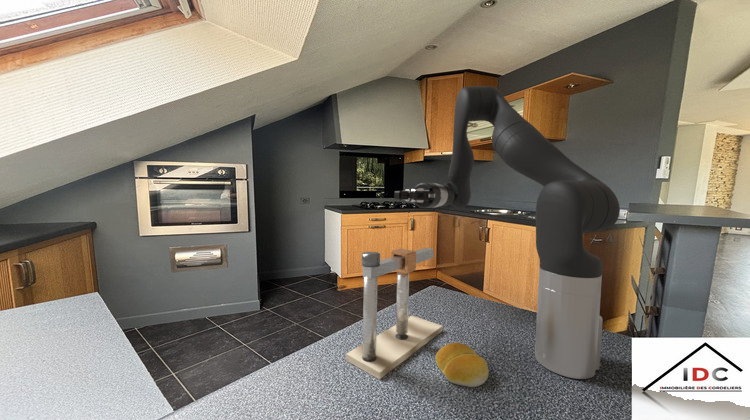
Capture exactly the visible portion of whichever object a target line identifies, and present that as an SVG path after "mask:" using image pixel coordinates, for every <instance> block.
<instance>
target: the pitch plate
mask: <svg viewBox="0 0 750 420" xmlns="http://www.w3.org/2000/svg"><path fill="white" fill-rule="evenodd" d="M442 332H443V325H441V324H438V323H435V322H432V321H429V320H426V319H424V318H421V317H418V316H416V315H410V316H408V333H406V334H404V336H400V335H399V334H398V333H397V332H396V324H394V325H393V326H391V327H389V328H388V329H386V330H385V331H383V332H381V333H379V334H377V339H376V359H375V360H373V361H366V360H364V359H363V343H362V344H360V345H359V346H357V347H355V348H354V349H351V350H350V351H348V352H347V353H345V361H346V362H348V363H350V364H351V365H353V366H355V367H357V368H359V369H361V370H362V371H364V372H365V373H367V374H369V375H371V376H373V377H374V378H377V379H378V380H381V379H382V378H383V377H385V376H386V375H387V374H388V373H390V372H392V371H393V370H394V369H395V368H396V367H398V366H399V365H400V364H402V362H403V363H404V361H406V360H407V359H408V358H409V357H410V356H412V355H413V354H415V353H416V352H417V351H418V350H420V349H421V348H422V347H424V346H425V345H426V344H427V343H429V342H430V341H431V340H433V339H434V338H435V337H437V336H438V335H440V333H442Z"/></svg>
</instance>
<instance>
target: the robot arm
mask: <svg viewBox="0 0 750 420" xmlns="http://www.w3.org/2000/svg"><path fill="white" fill-rule="evenodd" d="M453 118H454V119H453V137H452V152H451V160H450V164H449V169H448V175H447V178H448V180H449V182H448V181H447V182H445V183H442V184H439V183H435V182H420V183H418V184H416V185H415V187H414V188H406V189H405V190H404V189H403V190H401V189H400V190H395V191H394V195H393V196H394V200H399V201H405V202H410V203H414V204H415V205H416V206H417V207H418V208H420V209H421V208H422V209H429V208H430V209H431V208H438V207H446V206H449V205H450V206H452V207H454V208H456V209H459V210H460V209H461V210H462V209H464V208H466V207H467V205H468V204H469V202H470V201H471V197H472V196H471V194H472V192H471V175H472V173H473V172H472V171H473V167H474V163H475V156H474V151H473V149H472V146H471V144H470V142H469V138H468V134H467V132H468V131H467V130H468V125H469V122H488V123H490V124H491V125H492V126H493V131H492V134H491V135H492V136H491V143H492V144H491V145H492V148H493V150H494V151H495V152H496V154H497V155H498V157H500V159H502V161H503V162H504V163H505V164H506V165H507V166H508V167H509V168H511V169H512V170H513V171H516V173H519V174H521V175H523V176H525V177H526V178H528V179H530V180H532V181H534V182H536V183H537V184H540V186H542V187H543V188H541V190H540V192H539V194H538V197H537V200H536V204H535V205H536V207H535V248H536V253H537V255H538V258H539V259H538V260H539V267H538V270H539V271H538V288H537V304H536V306H537V307H536V308H537V309H536V324H535V325H536V326H535V327H536V328H535V343H534V344H535V346H534V359H535V360H536V362H538V363H539V364H540V365H541V366H542V367H544V368H545V369H546V370H549V371H551V372H553V373H555V374H558V375H560V376H563V377H566V378H571V379H577V380H578V379H579V380H587V379H591V378H593V377H594V376H595V375H596V371H597V370H599V371H600V364H601V348H602V347H601V346H602V334H603V333H602V332H603V320H604V319H603V317H602V316H601V315H600V309H601V296H602V278H603V261H602V259H601V258H600V257H599V256H597V255H594V254H593V253H590V252H588V250H587V249H585V246H584V235H583V234H584V233H585V234H587V233H589V234H590V233H598V232H602V231H605V230H608V229H610V228H611V227H613V226H614V225H615V224H616V223H617V221H618V220H619V217H620V212H621V211H620V209H621V208H620V202H619V200H618V197H617V196H616V194H615V193H614V191H613V190H612V189H611V188H610V187H609V186H608V185H607V184H605V183H604V182H603V181H601V180H600V179H598V178H597V177H596V176H594V175H592V174H591V173H589V172H588V171H587V170H585V169H584V168H582V167H581V166H579V165H578V164H576V163H575V162H573V161H572V160H571V159H570V158H569V157H567V156H566V155H565V154H564V153H563V152H562V151H561V150H560V149H559V148H558V147H557V146H555V144H554V143H552V142H551V141H549V139H547V137H545V135H543V133H542V132H540V131H539V130H538V129H537V128H536V126H534V125H533V124H532V123H530V122H529V121H528V120H526V118H524V117H523V116H522V115H521V114H520V113H519V112H518V111H517V110H516V109H514V107H513V106H512V105H511V104H510V103H509V102H508V100H507V99H506V98H505V96H504V95H503V94H502V93H501V92H500V90H499V89H498V88H497V87H494V86H491V85H474V86H472V85H471V86H465V87H462V88H461V89H460V90H459V91H458V93H457V97H456V100H455V105H454V117H453Z"/></svg>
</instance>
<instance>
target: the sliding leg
mask: <svg viewBox="0 0 750 420" xmlns="http://www.w3.org/2000/svg"><path fill="white" fill-rule="evenodd" d="M415 251H416V250H413V249H412V250H411V249H406V248H405V249H404V248H397V249H394V250H391V254H390V257H394V256H398V255H402V256H405V267H404V268H401V269H398V270H395V271H394V272H396V310H395V311H396V315H395V317H396V319H395V325H396V332H397V333H398V334H399V335H400V336H404V334H406V333H408V317H409V303H410V301H409V297H410V296H409V294H410V293H409V292H410V273H412V272H415V271H416V269H417V263H416V253H415Z"/></svg>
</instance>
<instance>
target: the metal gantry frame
mask: <svg viewBox="0 0 750 420" xmlns="http://www.w3.org/2000/svg"><path fill="white" fill-rule="evenodd" d="M414 251H415V253H416V264H419V263H422V262H425V261H428V260H431V259H434V248H429V247H424V248H420V249H416V250H414ZM361 267H362V277H363V304H362V305H363V310H362V311H363V315H362V316H363V317H362V319H363V320H362V321H363V322H362V326H363V327H362V336H363V337H362V344H363V359H364V360H366V361H373V360H375V359H376V339H377V335H378V334H377V332H378V331H377V330H378V329H377V327H378V326H377V324H378V277H380V276H383V275H386V274H389V273H392V272H396V271H395V270H398V269H401V268H404V267H405V256H402V255H398V256H394V257H391V256H390V257H388V258H383V259H381V253H380V252H377V251H364V252H362V253H361Z"/></svg>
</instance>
